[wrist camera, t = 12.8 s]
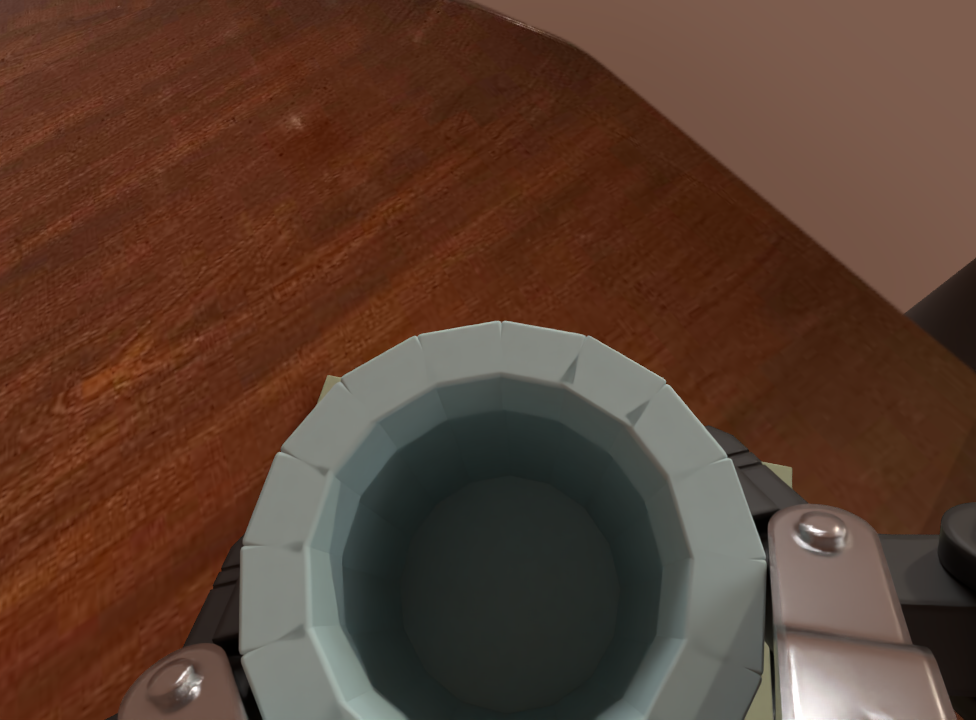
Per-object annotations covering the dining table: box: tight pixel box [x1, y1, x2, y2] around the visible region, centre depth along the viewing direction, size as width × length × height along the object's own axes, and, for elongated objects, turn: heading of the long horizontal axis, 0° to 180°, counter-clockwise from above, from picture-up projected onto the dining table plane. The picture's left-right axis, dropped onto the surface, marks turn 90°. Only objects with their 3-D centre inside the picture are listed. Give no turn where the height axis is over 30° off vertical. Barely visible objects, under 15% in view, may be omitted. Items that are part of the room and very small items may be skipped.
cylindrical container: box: [239, 321, 767, 720], centre depth 11 cm, size 6×6×9 cm
